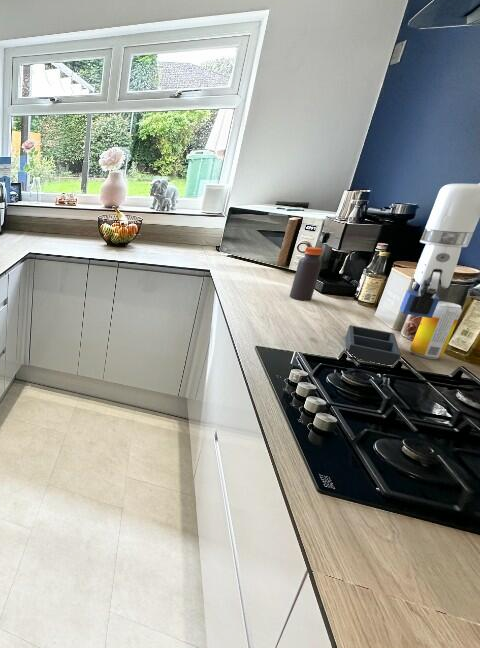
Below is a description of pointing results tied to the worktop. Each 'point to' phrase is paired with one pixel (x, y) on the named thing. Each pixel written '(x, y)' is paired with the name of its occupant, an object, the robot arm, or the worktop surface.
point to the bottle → (307, 274)
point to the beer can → (436, 331)
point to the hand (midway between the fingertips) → (416, 309)
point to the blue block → (408, 302)
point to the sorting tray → (372, 345)
